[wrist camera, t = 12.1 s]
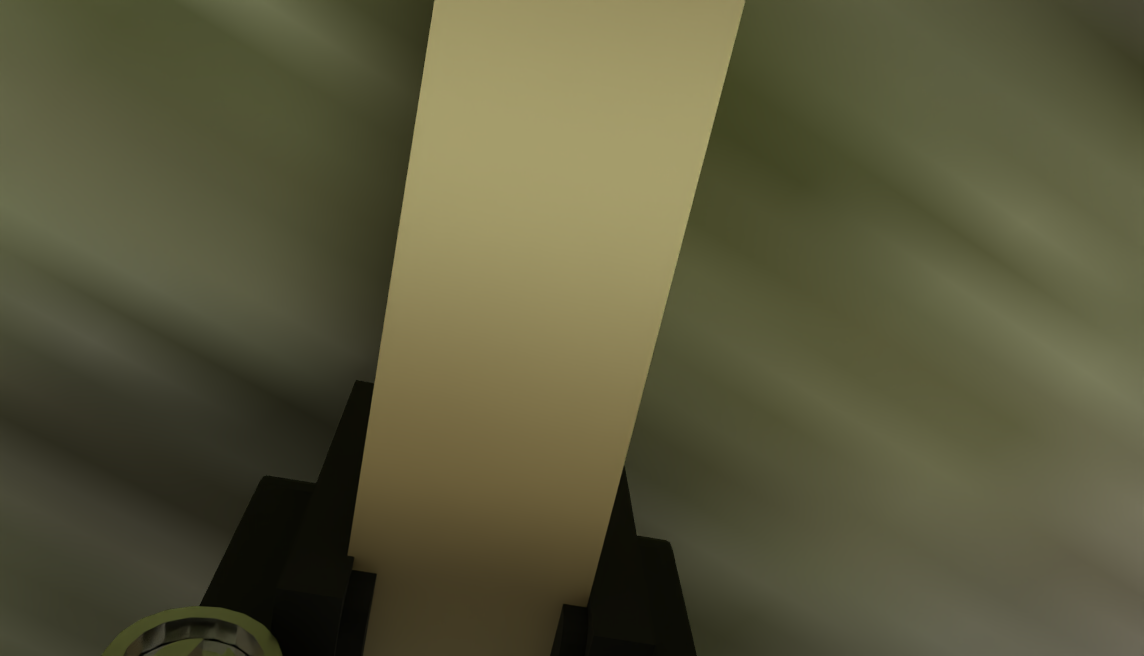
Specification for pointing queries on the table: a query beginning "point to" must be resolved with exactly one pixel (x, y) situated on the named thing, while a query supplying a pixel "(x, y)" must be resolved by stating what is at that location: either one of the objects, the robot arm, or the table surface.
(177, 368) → the table surface
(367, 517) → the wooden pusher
